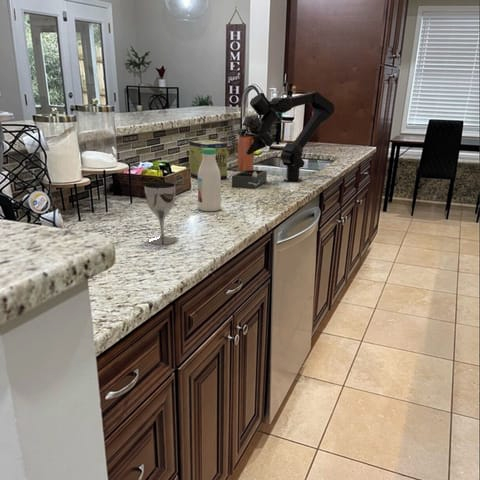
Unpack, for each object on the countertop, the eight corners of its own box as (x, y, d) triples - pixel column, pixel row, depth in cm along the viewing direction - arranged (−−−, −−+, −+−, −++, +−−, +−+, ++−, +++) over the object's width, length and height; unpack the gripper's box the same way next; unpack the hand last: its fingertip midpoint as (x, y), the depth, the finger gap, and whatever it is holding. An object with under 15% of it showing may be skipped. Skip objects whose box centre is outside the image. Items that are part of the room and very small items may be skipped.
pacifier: (241, 187, 207) (255, 188, 205) (241, 172, 204) (255, 172, 202) (248, 184, 213) (261, 185, 211) (248, 169, 211) (261, 170, 208)
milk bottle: (224, 207, 174) (224, 147, 166) (215, 212, 167) (215, 150, 159) (203, 205, 176) (202, 146, 168) (194, 210, 169) (193, 149, 161)
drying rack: (231, 186, 208) (231, 175, 207) (246, 179, 224) (246, 169, 222) (253, 188, 205) (253, 177, 204) (266, 181, 221) (266, 170, 219)
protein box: (208, 181, 219) (208, 144, 213) (189, 176, 230) (188, 141, 224) (227, 179, 225) (227, 143, 219) (208, 174, 236) (207, 139, 230)
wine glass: (149, 236, 140) (145, 182, 134) (177, 236, 141) (175, 182, 135) (146, 245, 133) (143, 188, 127) (176, 244, 134) (174, 188, 128)
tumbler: (239, 167, 212) (239, 135, 206) (254, 168, 211) (254, 135, 206) (236, 170, 206) (236, 137, 201) (252, 170, 205) (252, 137, 200)
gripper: (241, 108, 208) (219, 137, 207) (267, 110, 194) (244, 141, 193) (256, 127, 215) (235, 155, 214) (283, 130, 201) (260, 161, 200)
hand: (242, 153), depth 205 cm, fingers closed on tumbler, 6 cm apart
